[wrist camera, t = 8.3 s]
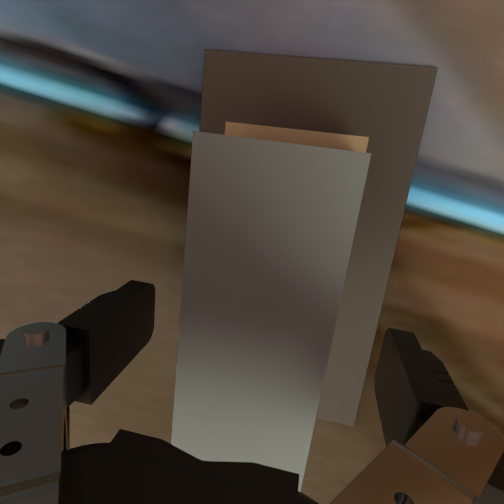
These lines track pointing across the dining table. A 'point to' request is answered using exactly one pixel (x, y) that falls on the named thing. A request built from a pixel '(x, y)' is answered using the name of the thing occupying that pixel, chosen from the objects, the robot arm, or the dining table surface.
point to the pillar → (298, 136)
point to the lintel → (261, 294)
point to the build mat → (377, 181)
